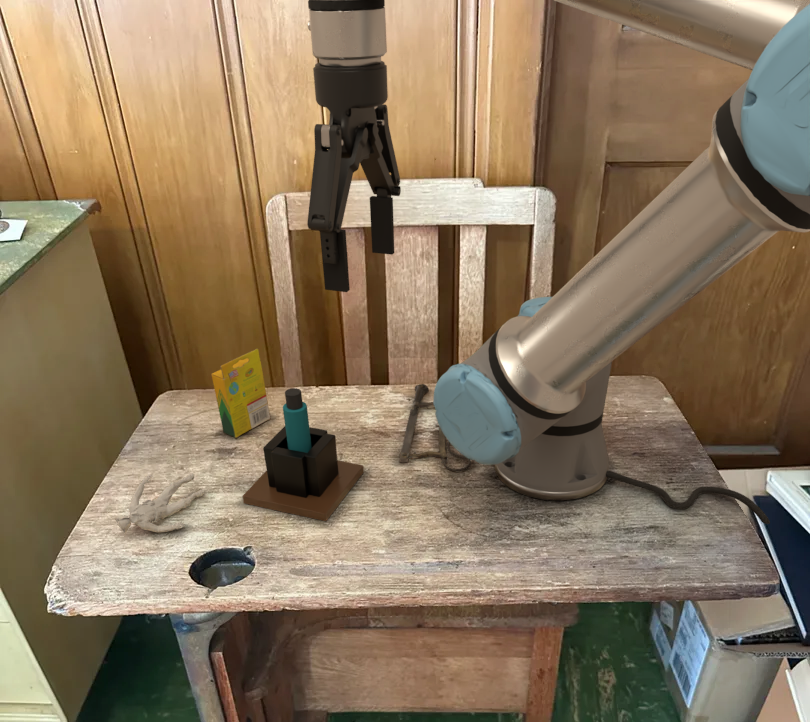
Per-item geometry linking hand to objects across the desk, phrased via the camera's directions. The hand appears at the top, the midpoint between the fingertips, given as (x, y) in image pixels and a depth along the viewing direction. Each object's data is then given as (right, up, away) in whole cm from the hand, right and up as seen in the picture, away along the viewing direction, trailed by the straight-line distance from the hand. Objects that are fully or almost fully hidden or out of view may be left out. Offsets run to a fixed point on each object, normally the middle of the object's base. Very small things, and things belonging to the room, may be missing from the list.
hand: (361, 270), depth 90 cm
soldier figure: (-26, -29, +7) cm, 40 cm away
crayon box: (-19, -15, +25) cm, 35 cm away
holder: (-8, -25, +12) cm, 29 cm away
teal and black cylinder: (-8, -24, +11) cm, 28 cm away
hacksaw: (+11, -15, +24) cm, 30 cm away
